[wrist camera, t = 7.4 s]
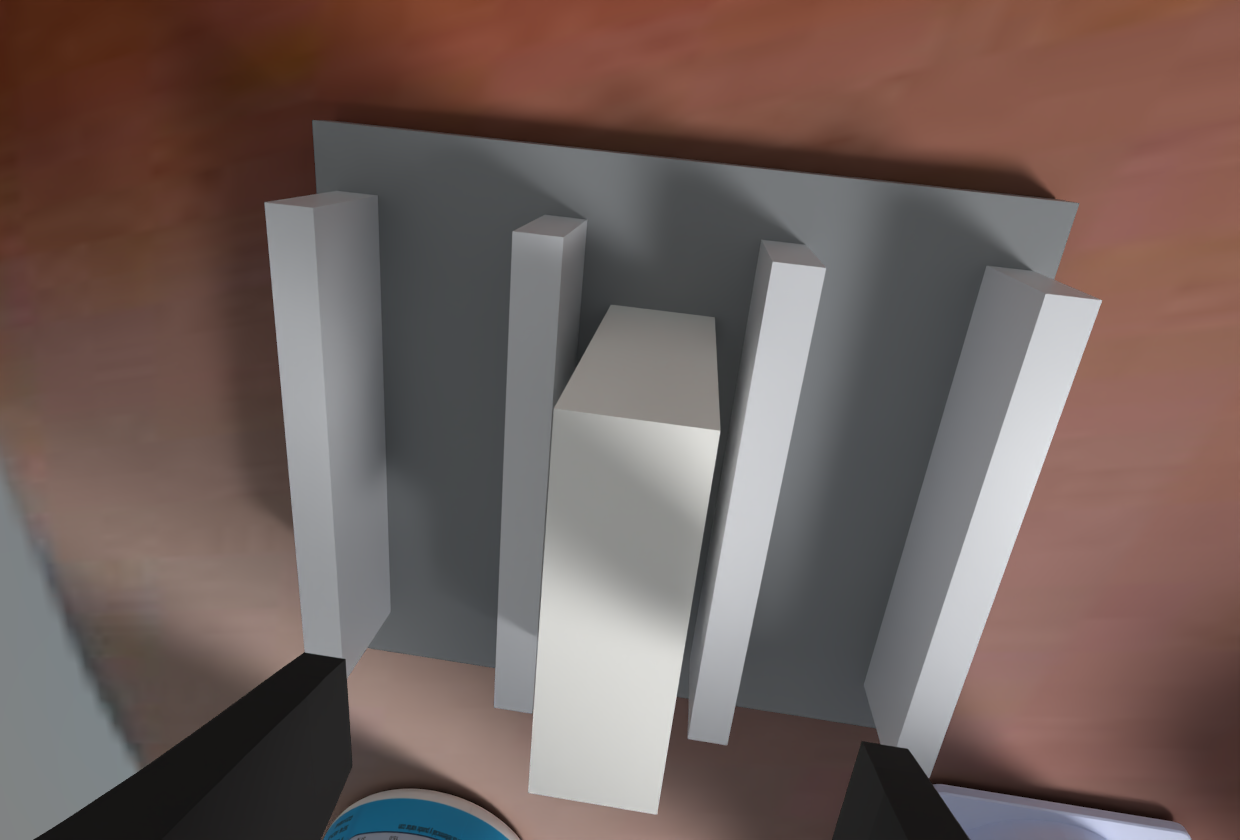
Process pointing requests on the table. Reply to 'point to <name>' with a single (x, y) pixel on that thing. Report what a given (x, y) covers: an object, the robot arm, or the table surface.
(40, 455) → the table surface
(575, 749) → the tile
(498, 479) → the rack
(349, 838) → the beverage bottle
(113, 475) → the table surface
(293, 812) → the robot arm
